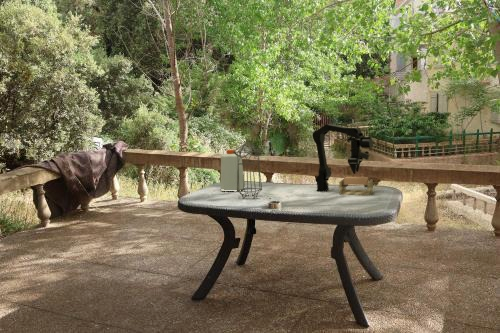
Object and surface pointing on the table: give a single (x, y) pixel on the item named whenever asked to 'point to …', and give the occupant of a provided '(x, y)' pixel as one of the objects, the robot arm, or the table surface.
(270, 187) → the table surface
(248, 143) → the geometric lantern
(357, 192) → the shelf frame
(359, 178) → the tan rectangular block
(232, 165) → the plastic bottle
